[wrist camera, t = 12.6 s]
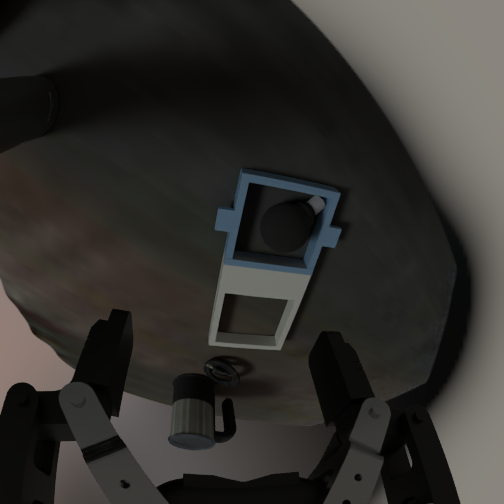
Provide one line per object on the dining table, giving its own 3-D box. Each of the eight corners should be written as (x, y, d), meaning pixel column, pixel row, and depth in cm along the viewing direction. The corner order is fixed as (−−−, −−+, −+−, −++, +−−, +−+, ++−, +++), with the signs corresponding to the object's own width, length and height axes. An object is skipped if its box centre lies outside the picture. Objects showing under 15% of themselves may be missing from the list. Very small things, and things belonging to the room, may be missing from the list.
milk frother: (174, 393, 60) (170, 449, 48) (167, 352, 53) (160, 418, 40) (234, 395, 63) (239, 451, 50) (240, 355, 55) (247, 421, 42)
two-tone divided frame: (197, 333, 50) (197, 344, 48) (225, 165, 36) (226, 170, 33) (288, 340, 54) (290, 350, 51) (346, 190, 39) (353, 196, 37)
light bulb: (346, 220, 37) (288, 267, 35) (322, 217, 43) (269, 257, 41) (324, 177, 35) (260, 223, 33) (300, 180, 41) (245, 220, 39)
